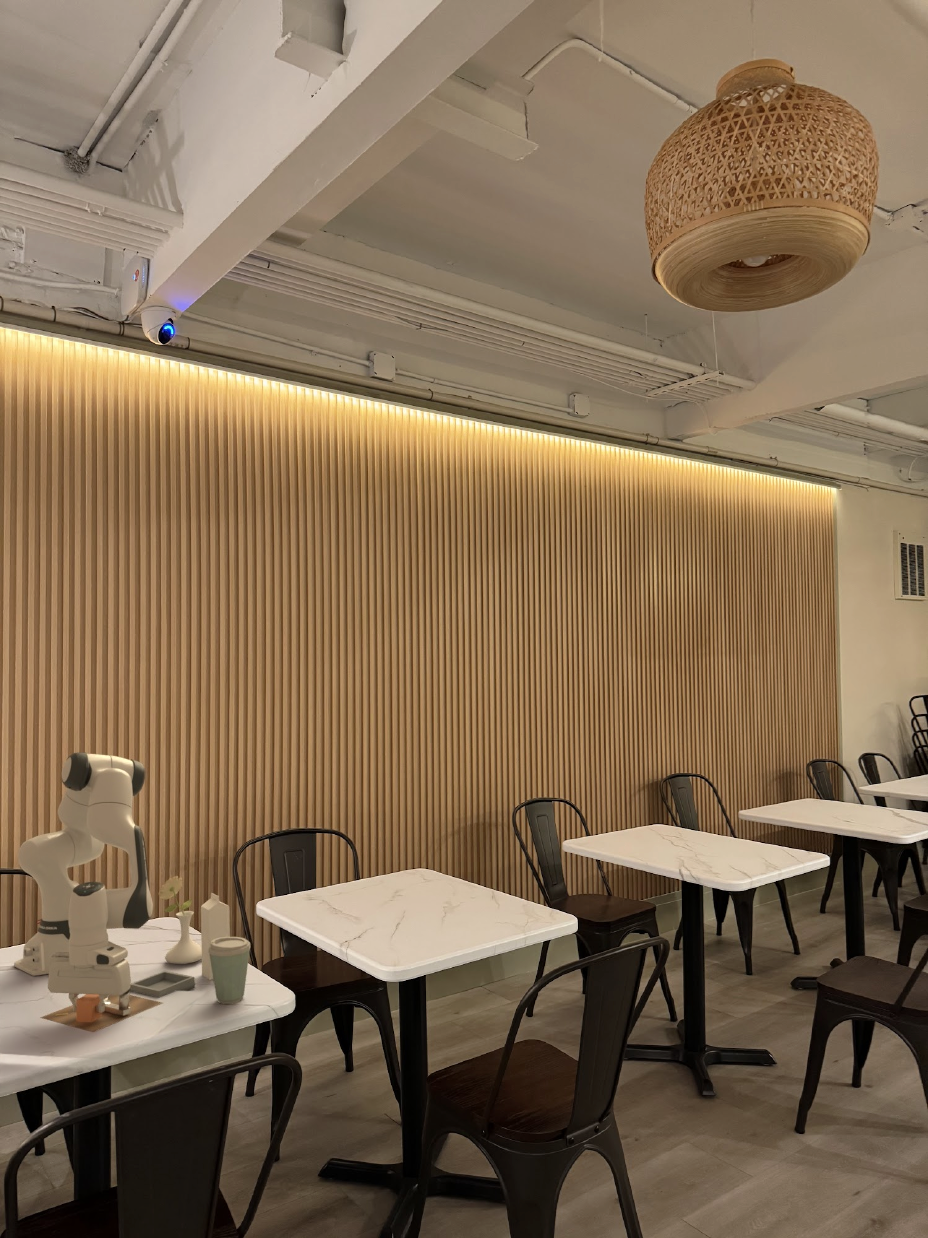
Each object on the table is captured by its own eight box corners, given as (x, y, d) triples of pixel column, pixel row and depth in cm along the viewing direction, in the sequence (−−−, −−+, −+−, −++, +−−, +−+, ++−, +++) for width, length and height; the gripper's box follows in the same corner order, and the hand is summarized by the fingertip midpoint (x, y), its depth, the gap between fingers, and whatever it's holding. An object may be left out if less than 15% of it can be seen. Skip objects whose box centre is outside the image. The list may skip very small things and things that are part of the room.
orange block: (76, 1021, 209) (76, 1000, 209) (86, 1015, 212) (86, 994, 213) (91, 1022, 208) (91, 1000, 208) (101, 1016, 212) (101, 994, 212)
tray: (129, 996, 229) (129, 984, 229) (164, 982, 239) (164, 970, 239) (159, 1003, 223) (159, 991, 223) (194, 988, 233) (194, 977, 233)
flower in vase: (197, 952, 264) (196, 868, 266) (211, 961, 255) (210, 874, 257) (154, 962, 256) (153, 875, 258) (166, 972, 247) (165, 882, 249)
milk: (209, 980, 239) (207, 898, 240) (201, 975, 244) (200, 894, 245) (231, 975, 242) (229, 894, 244) (222, 970, 247) (221, 890, 249)
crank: (91, 1010, 215) (91, 984, 215) (104, 1005, 218) (104, 980, 218) (121, 1018, 209) (121, 991, 210) (134, 1012, 212) (134, 987, 213)
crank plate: (40, 1023, 212) (40, 1017, 212) (111, 996, 229) (111, 990, 229) (93, 1039, 202) (93, 1031, 202) (163, 1009, 219) (163, 1002, 219)
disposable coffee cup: (249, 990, 230) (247, 931, 231) (254, 1003, 220) (253, 942, 221) (207, 996, 227) (206, 937, 228) (211, 1011, 217) (210, 949, 218)
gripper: (41, 956, 210) (41, 1015, 209) (118, 958, 206) (119, 1018, 205) (58, 947, 216) (59, 1005, 215) (133, 950, 212) (134, 1008, 211)
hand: (89, 1012), depth 210 cm, fingers open, 4 cm apart
